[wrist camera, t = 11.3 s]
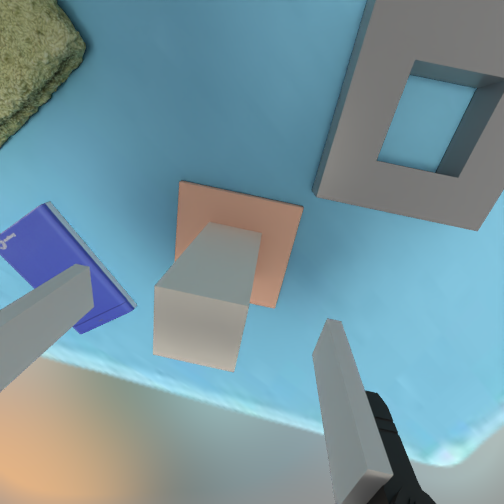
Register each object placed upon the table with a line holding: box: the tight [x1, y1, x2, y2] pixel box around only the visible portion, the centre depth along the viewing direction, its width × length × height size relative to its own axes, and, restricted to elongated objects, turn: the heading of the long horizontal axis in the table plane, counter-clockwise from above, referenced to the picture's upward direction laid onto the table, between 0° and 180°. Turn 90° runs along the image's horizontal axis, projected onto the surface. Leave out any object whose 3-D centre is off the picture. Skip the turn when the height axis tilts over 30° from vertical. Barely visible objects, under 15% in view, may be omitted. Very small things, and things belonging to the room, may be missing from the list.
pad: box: [175, 181, 303, 308], centre depth 22 cm, size 10×10×1 cm
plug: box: [153, 222, 262, 372], centre depth 17 cm, size 4×4×10 cm
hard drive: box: [0, 202, 137, 334], centre depth 25 cm, size 2×8×12 cm
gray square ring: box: [312, 0, 504, 231], centre depth 16 cm, size 11×11×2 cm
